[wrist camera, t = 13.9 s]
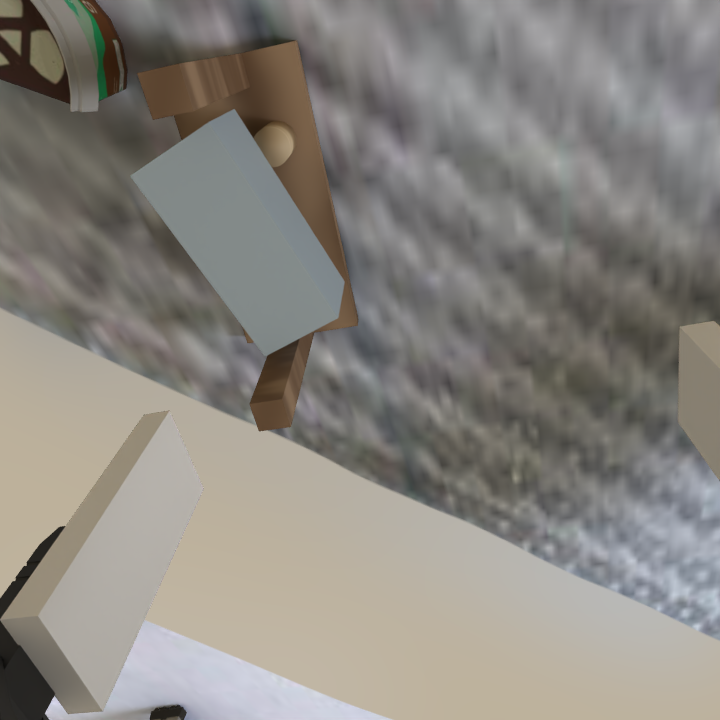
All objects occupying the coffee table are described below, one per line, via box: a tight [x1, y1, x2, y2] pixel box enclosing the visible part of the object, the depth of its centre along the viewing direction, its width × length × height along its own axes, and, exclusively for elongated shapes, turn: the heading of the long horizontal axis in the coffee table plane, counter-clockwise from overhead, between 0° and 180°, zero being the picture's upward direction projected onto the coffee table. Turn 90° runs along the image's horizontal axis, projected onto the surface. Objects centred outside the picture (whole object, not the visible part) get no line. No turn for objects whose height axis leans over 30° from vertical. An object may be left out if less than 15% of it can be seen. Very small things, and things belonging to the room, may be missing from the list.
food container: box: [0, 0, 127, 112], centre depth 34 cm, size 12×6×10 cm, turn 71°
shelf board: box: [130, 109, 345, 356], centre depth 37 cm, size 6×13×6 cm, turn 31°
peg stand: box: [137, 41, 358, 431], centre depth 38 cm, size 9×20×14 cm, turn 11°
